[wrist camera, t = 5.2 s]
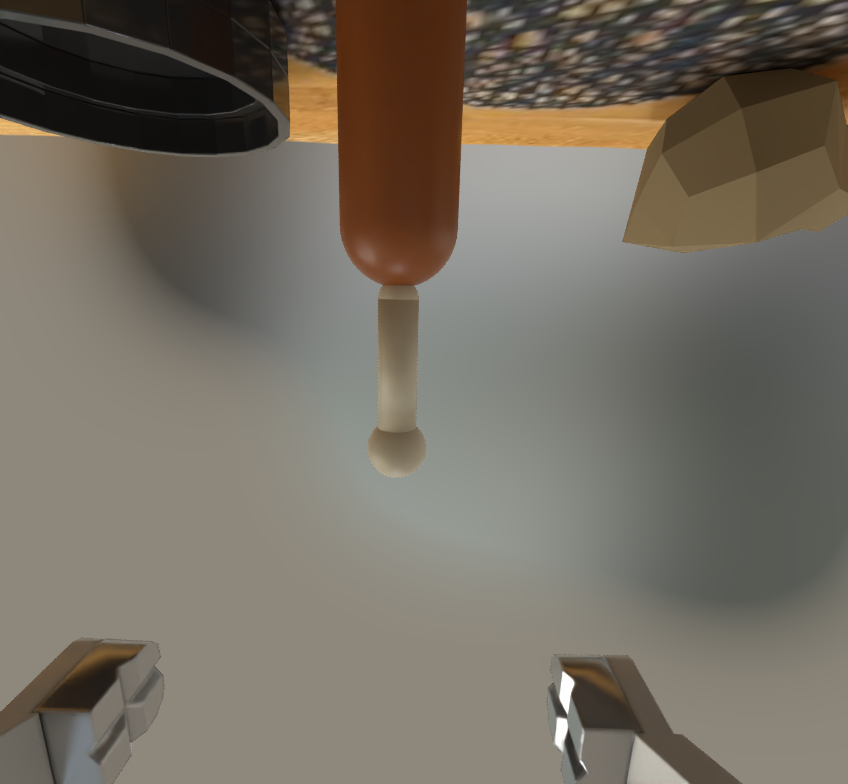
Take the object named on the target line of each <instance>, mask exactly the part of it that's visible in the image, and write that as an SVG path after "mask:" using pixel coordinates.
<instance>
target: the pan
mask: <svg viewBox="0 0 848 784" xmlns="http://www.w3.org/2000/svg"><path fill="white" fill-rule="evenodd" d="M0 118H2V119H6V120H9V121H12V122H15V123H19V124H22V125H25V126H28V127H31V128H35V129H38V130H41V131H46V132H48V133H52V134H57V135H61V136H65V137H70V138H73V139H78V140H82V141H87V142H90V143H95V144H96V143H97V144H100V145H105V146H111V147H118V148H123V149H129V150H134V151H140V152H148V153H157V154H166V155H176V156H187V157H232V156H243V155H252V154H257V153H261V152H264V151H268V150H271V149H274V148H277V147H278V146H279V145H280V144H282V143H283V142H284V141H285V140H287V139H288V138H289V137H290V108H289V84H288V60H287V35H286V30H285V28H284V26H283V24H282V23H281V21H280V19H279V17H278V15H277V13H276V12H275V10H274V8H273V6H272V4H271V2H270V1H269V0H0Z"/></svg>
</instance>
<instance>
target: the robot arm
mask: <svg viewBox="0 0 848 784" xmlns="http://www.w3.org/2000/svg"><path fill="white" fill-rule="evenodd" d="M160 657H161V655H160V650H159V646H158V643H155V642H152V641H137V640H119V639H93V638H80V639H78V640H76V641H74V642H72V643H71V644H70V645H69V646H68V647H67V648H66V649H65V650H64V651H63V652H62V653H61V654H60V655H59V656H58V657H57V658H56V659H54V661H53V662H52V663H50V664H49V665H48V666H47V667H46V668H45V669H44V670H43V671H42V672H41V673H40V674H39V675H38V676H37V677H36V678H35V679H34V680H33V681H32V682H31V683H30V684H29V685H28V686H27V687H26V688H25V689H24V690H23V691H22V692H21V693H20V694H19V695H18V696H17V697H15V699H14V700H12V701H11V702H10V703H9V704H8V705H7V706H6V707H5V708H4V709H3V710H2V711H1V712H0V784H113V783H114V782H115V780H116V778H117V777H118V775H119V774H120V772H121V771H122V769H123V768H124V766H125V764H126V763H127V761H128V760H129V758H130V757H131V755H132V752H131V743H132V742H133V741H134V740H136V739H137V738H138V737H140V736H141V735H142V734H144V733H145V732H146V731H147V730H148V729H149V727H150V726H151V724H152V722H153V721H154V719H155V717H156V716H157V713H158V711H159V708H160V705H161V702H162V700H163V694H164V677H163V674H162V673H161V672H160V671H159V670H158V669H157V668H156V667H155V664H156V663H157V662H158V660H159V659H160ZM550 671H551V674H552V677H553V681H554V682H553V683H552V684H551V685H550V686H549V687H548V697H547V710H548V720H549V726H550V731H551V735H552V739H553V743H554V745H555V746H556V747H557V748H558V750H559V751H560V752H561V753H562V754H563V756H562V764H561V771H562V776H563V779H564V783H565V784H742V783H741V782H739V781H738V780H737V779H736V778H735V777H734V776H732V775H731V774H730V773H729V772H727V771H726V770H725V769H724V768H723V767H721V766H720V765H719V764H718V763H716V762H715V761H714V760H713V759H712V758H710V757H709V756H708V755H707V754H705V753H704V752H703V751H702V750H700V749H699V748H698V747H697V746H696V745H694V744H693V743H692V742H691V741H690V740H688V739H687V738H686V737H685V736H683V735H681V734H674V733H673V731H672V729H671V728H670V726H669V724H668V722H667V720H666V719H665V717H664V715H663V713H662V711H661V710H660V708H659V706H658V704H657V703H656V701H655V699H654V697H653V695H652V694H651V692H650V690H649V688H648V687H647V685H646V683H645V681H644V680H643V678H642V676H641V674H640V672H639V670H638V669H637V667H636V665H635V663H634V662H633V660H632V659H631V658H630V657H629V656H628V655H603V656H601V655H575V654H554V655H553V657H552V660H551V667H550Z"/></svg>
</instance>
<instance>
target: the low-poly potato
mask: <svg viewBox="0 0 848 784" xmlns="http://www.w3.org/2000/svg"><path fill="white" fill-rule="evenodd" d="M847 214H848V125H847V124H846V120H845V115H844V111H843V106H842V101H841V96H840V92H839V87H838V82H837V80H833V79H830V78H826V77H822V76H819V75H815V74H812V73H808V72H804V71H801V70H797V69H794V68H790V69H781V70H773V71H764V72H755V73H747V74H738V75H730V76H723V77H722V78H721V79H719V80H718V81H717V82H715V83H714V84H713V85H711V86H710V87H709V88H707V89H706V90H705V91H703V92H702V93H701V94H699V95H698V96H697V97H695V98H694V99H693V100H691V101H690V102H689V103H687V104H686V105H685V106H684V107H682V108H681V109H680V110H678V111H677V112H676V113H674V114H673V115H672V116H670V117H669V118H668V119H667V120H666V121H665V123H664V124H663V126H662V127H661V129H660V130H659V132H658V133H657V135H656V136H655V138H654V139H653V141H652V142H651V144H650V145H649V147H648V148H647V152H646V156H645V159H644V163H643V167H642V171H641V175H640V178H639V182H638V186H637V189H636V194H635V197H634V200H633V204H632V208H631V212H630V215H629V219H628V223H627V227H626V230H625V234H624V238H623V242H626V243H631V244H636V245H643V246H647V247H653V248H658V249H664V250H669V251H675V252H680V253H687V252H694V251H701V250H708V249H715V248H721V247H728V246H735V245H742V244H748V243H756V242H759V241H762V240H766V239H769V238H773V237H776V236H780V235H782V234H786V233H790V232H793V231H796V230H800V229H804V230H810V231H817V232H819V231H821V230H823V229H824V228H826V227H828V226H829V225H831V224H832V223H834V222H835V221H837V220H839V219H841V218H842V217H843V216H845V215H847Z"/></svg>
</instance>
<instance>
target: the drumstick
mask: <svg viewBox="0 0 848 784" xmlns="http://www.w3.org/2000/svg"><path fill="white" fill-rule="evenodd" d="M466 12H467V0H336V46H337V100H338V153H339V204H340V205H339V207H340V232H341V238H342V242H343V245H344V248H345V250H346V252H347V254H348V256H349V257H350V259H351V261H352V262H353V264H354V265H355V266H356V267H357V268H358V270H360V271H361V272H362V273H363V274H364V275H366V276H367V277H368V278H370V279H371V280H373V281H375V282H377V283H380V284H383V286H382V287H381V289H380V291H379V295H378V426H377V427H376V428H375V429H374V431H373V432H372V434H371V436H370V438H369V441H368V456H369V459H370V461H371V463H372V465H373V466H374V467H375V468H376V470H377V471H379V472H380V473H382V474H383V475H386V476H389V477H394V478H399V477H405V476H407V475H410V474H411V473H413V472H414V471H416V470H417V469H418V468H419V466H420V465H421V463H422V461H423V460H424V457H425V453H426V443H425V439H424V437H423V434H422V433H421V431H420V430H419V429H418V428H417V426H416V403H417V357H418V355H417V354H418V311H419V296H418V292H417V290H416V288H415V287H414V285H418V284H420V283H423V282H424V281H427V280H428V279H430V278H431V277H433V276H434V275H435V274H437V273H438V272H439V271H440V270H441V269H442V268H443V266H444V265H445V264H446V262H447V261H448V260H449V258H450V256H451V254H452V252H453V249H454V246H455V243H456V239H457V230H458V208H459V185H460V161H461V136H462V111H463V86H464V62H465V37H466Z"/></svg>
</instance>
